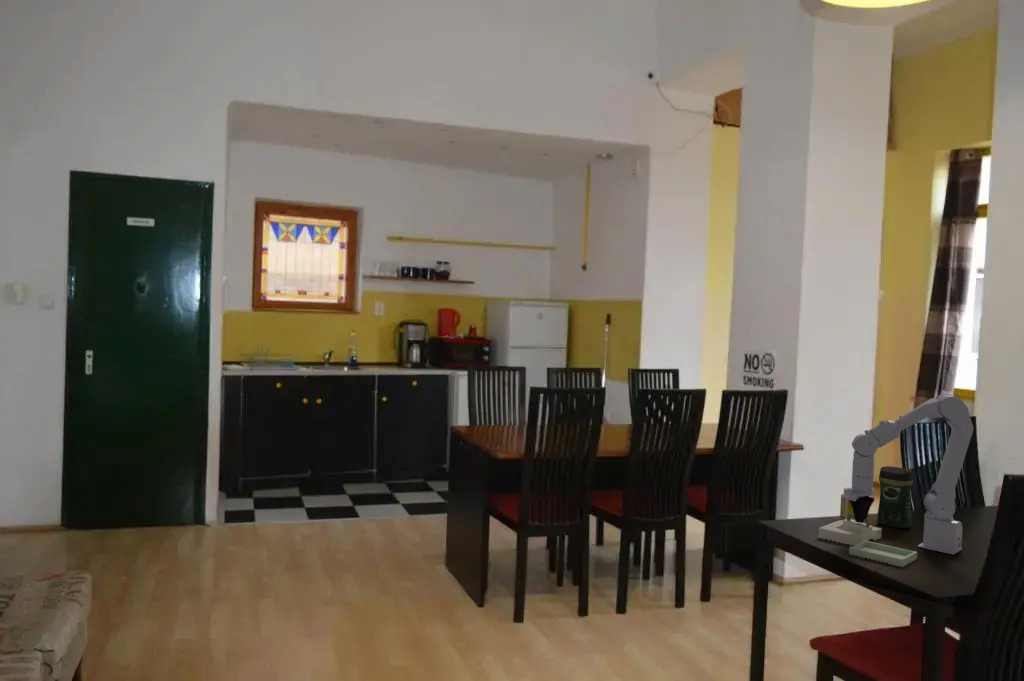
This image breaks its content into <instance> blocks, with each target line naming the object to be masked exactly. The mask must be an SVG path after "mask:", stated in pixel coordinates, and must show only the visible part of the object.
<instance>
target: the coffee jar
mask: <svg viewBox="0 0 1024 681" xmlns="http://www.w3.org/2000/svg"><path fill="white" fill-rule="evenodd" d="M878 475H879V476H878V481H879V486H880V487H879V488H880V493H879V494H880V495H879V501H878V503H879V504H878V508H877V517H876V522H877V523H878V524H879V525H881V526H885V525H886V526H885V527H889V526H890V528H896V529H897V528H898V529H908V528H910V527H911V526H912V511H911V510H912V509H911V508H912V506H911V489H912V488H911V487H913V483H914V477H913V471H912V469H910V468H909V469H908V468H903V467H897V466H890V465H887V466H882V467H881V468H880V470H879V474H878Z"/></svg>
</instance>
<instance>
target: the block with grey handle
mask: <svg viewBox="0 0 1024 681" xmlns="http://www.w3.org/2000/svg"><path fill="white" fill-rule="evenodd" d="M851 517H852V518H854V519H855V517H854V515H853V514H850V513H849V514H848V516H847V519H845V520H843V526H842V529H843V530H847V531H852V532H857V533H861V534H866V535H867V541H869V540H870V537H871V532H872V527H874V526H873V525H871V521H870V519H864V522H863V523H860V522H856V521H855V520H853V519H851ZM870 541H871V540H870Z"/></svg>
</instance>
